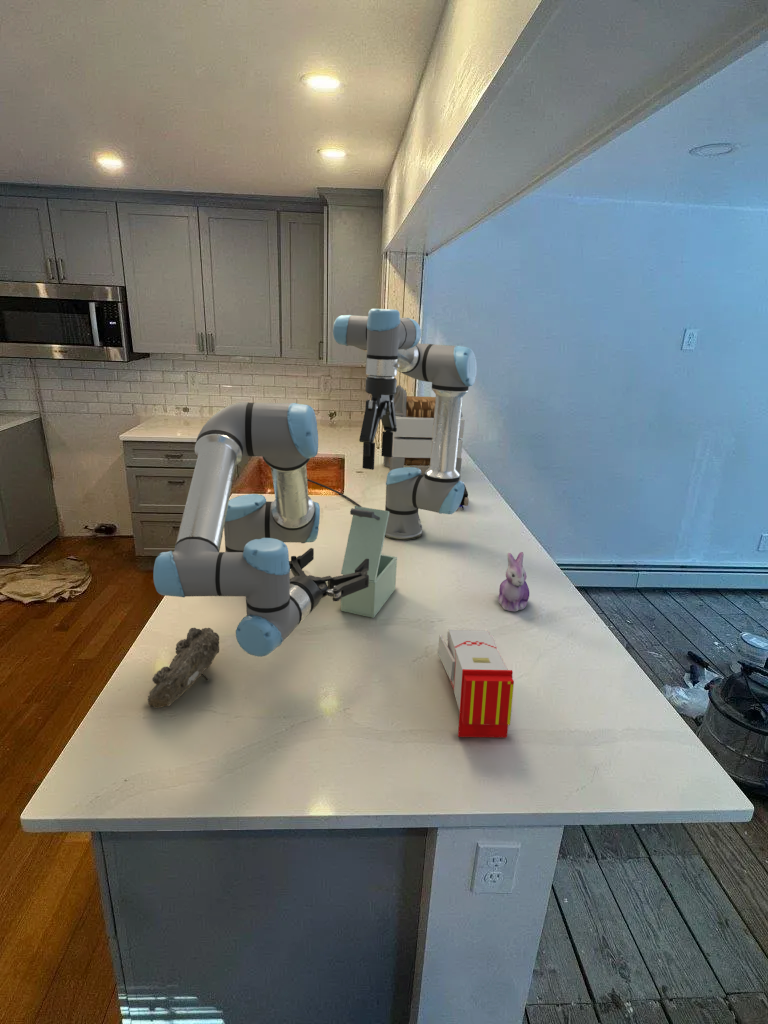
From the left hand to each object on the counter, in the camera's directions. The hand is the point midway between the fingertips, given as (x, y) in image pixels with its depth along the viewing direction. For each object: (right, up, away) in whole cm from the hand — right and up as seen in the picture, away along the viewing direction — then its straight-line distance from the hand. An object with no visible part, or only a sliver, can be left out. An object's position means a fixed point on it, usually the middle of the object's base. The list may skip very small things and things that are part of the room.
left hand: (339, 558), depth 128 cm
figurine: (+46, -15, +27) cm, 55 cm away
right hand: (+9, +23, +15) cm, 29 cm away
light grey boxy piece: (+27, +29, +147) cm, 152 cm away
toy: (+28, -27, -10) cm, 40 cm away
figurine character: (+40, +13, +103) cm, 111 cm away
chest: (+6, -13, +26) cm, 30 cm away
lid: (+5, +3, +16) cm, 17 cm away
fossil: (-30, -24, -10) cm, 40 cm away
